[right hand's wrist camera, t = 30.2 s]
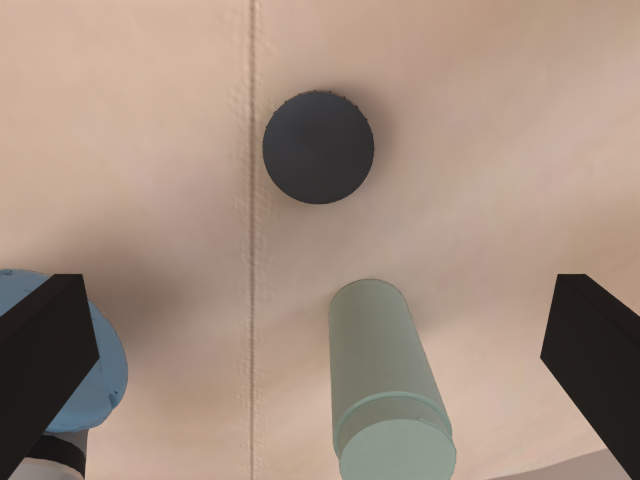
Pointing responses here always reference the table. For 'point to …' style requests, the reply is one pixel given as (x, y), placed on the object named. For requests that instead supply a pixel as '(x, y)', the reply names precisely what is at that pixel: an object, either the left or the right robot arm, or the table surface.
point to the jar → (384, 390)
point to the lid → (318, 147)
